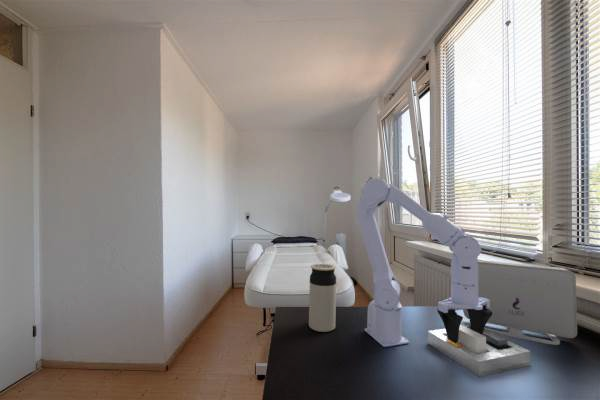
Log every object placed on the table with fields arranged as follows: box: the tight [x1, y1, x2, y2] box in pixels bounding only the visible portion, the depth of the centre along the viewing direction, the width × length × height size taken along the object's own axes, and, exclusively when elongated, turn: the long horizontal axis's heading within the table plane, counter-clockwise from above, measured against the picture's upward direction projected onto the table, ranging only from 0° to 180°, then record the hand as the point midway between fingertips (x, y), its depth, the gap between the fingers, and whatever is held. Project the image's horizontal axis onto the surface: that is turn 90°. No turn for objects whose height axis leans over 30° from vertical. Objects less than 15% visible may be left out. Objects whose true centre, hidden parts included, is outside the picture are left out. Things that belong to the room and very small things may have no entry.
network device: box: [462, 259, 578, 346], centre depth 75 cm, size 26×9×20 cm, turn 62°
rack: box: [427, 324, 532, 378], centre depth 62 cm, size 14×16×5 cm
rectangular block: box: [446, 323, 486, 354], centre depth 61 cm, size 8×3×6 cm, turn 17°
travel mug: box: [308, 263, 337, 333], centre depth 75 cm, size 8×8×18 cm
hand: (464, 338), depth 61 cm, fingers open, 7 cm apart
